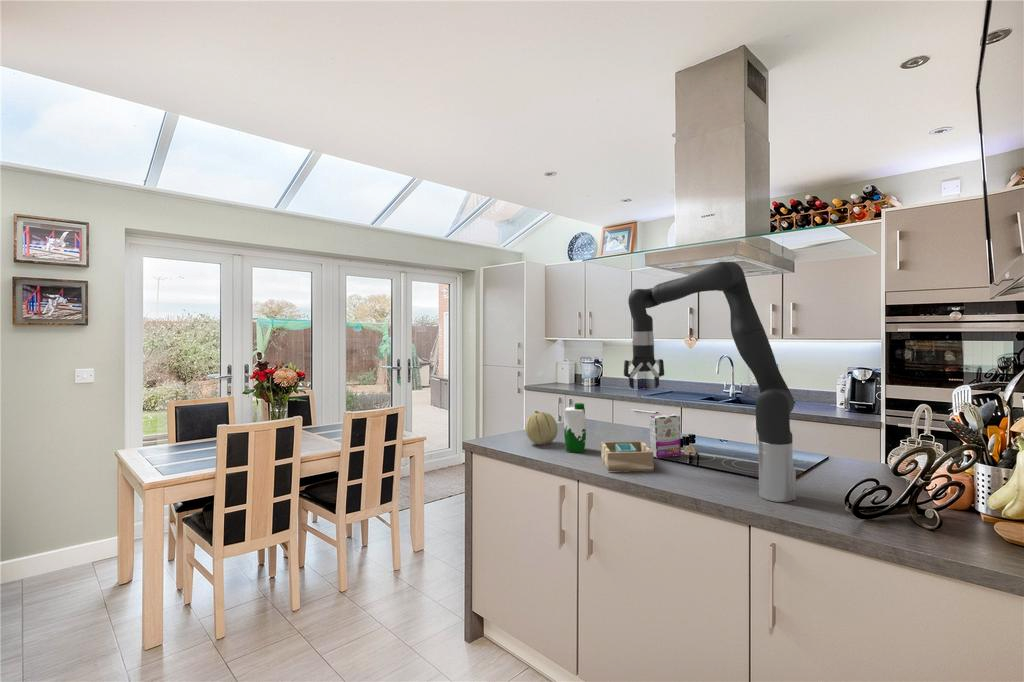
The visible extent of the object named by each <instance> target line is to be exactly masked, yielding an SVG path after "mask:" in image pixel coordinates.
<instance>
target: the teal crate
mask: <svg viewBox="0 0 1024 682" xmlns="http://www.w3.org/2000/svg"><path fill="white" fill-rule="evenodd" d="M615 446H616V452H636V449H635V448H634V447H633V445H632V444H615Z"/></svg>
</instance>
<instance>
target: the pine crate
mask: <svg viewBox="0 0 1024 682" xmlns="http://www.w3.org/2000/svg"><path fill="white" fill-rule="evenodd" d="M615 444H632V445H633V447H634V448H635V449H636V452H616V446H615ZM600 451H601V452H600V454H601V455H600V456H601V459H602V460H601V461H602V463H603V465H604V464H605V465H604V467H605V466H606V467H605V468H607V469H606V470H608V471H646V472H655V471H654V470H655V469H654V466H655V465H654V457H653V451H652V450H651V447H649V446H648V444H646V443H645V442H644V441H643V440H634V441H633V440H631V441H626V440H625V441H601V442H600ZM608 471H607V472H608Z"/></svg>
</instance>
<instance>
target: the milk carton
mask: <svg viewBox="0 0 1024 682" xmlns="http://www.w3.org/2000/svg"><path fill="white" fill-rule="evenodd" d="M563 428H564V430H563V431H564V432H563V433H564V443H565V445H564V446H565V450H566V452H567V451H574V452H573V453H584V451H585V448H586V440H587V432H586V431H587V427H586V407H585V403H583V402H582V403H580V402H579V403H577V402H576V403H574V406H572V407H567V406H566V407H565V409H564V415H563Z"/></svg>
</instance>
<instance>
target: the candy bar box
mask: <svg viewBox="0 0 1024 682" xmlns="http://www.w3.org/2000/svg"><path fill="white" fill-rule="evenodd" d="M680 421H681V418H680V415H678V414H676V413H668V414H667V413H666V414H658V415H656V414H655V415H649V434H650V438H649V439H650V449H651V450H652V451H653V456H654V457H653V458H655V457H656V458H655V459H661V458H660V457H666V456H673V455H674V457H676V456H675V455H680V456H682V450H681V449H682V448H681V424H680V423H681V422H680ZM666 458H667V457H666Z"/></svg>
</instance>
